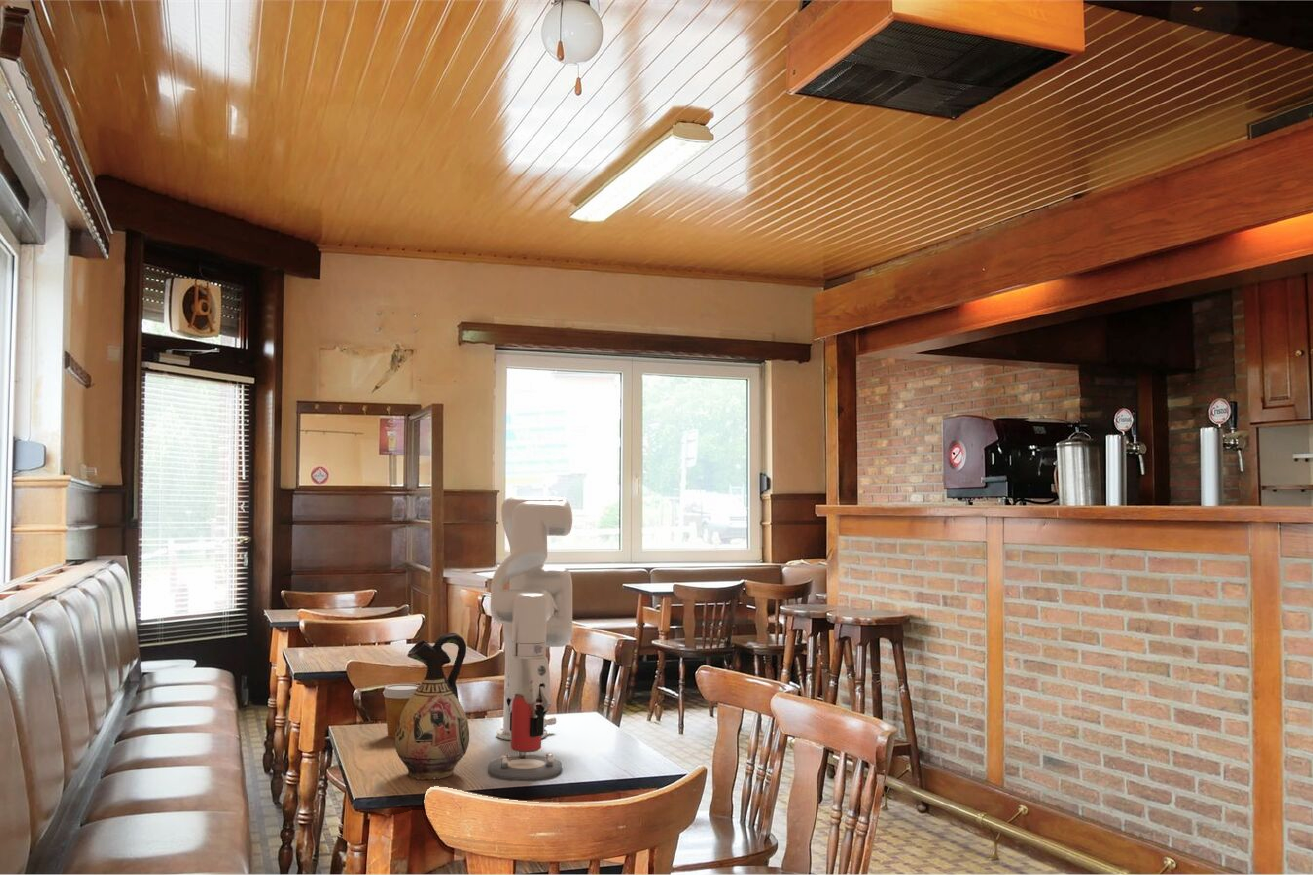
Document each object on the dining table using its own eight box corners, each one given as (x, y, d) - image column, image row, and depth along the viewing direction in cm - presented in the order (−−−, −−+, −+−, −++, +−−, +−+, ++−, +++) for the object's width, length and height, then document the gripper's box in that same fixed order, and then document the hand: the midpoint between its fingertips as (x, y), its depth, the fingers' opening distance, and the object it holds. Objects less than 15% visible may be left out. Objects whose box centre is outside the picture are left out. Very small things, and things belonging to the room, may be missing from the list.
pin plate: (532, 758, 234) (532, 751, 235) (577, 772, 223) (577, 764, 223) (473, 769, 223) (473, 762, 223) (517, 784, 212) (517, 776, 212)
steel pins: (522, 756, 230) (523, 745, 230) (554, 766, 222) (554, 754, 222) (485, 763, 223) (486, 751, 223) (517, 773, 215) (517, 761, 215)
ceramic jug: (400, 787, 208) (406, 637, 210) (388, 769, 222) (393, 629, 225) (483, 780, 215) (487, 635, 217) (466, 763, 229) (470, 627, 231)
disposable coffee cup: (428, 735, 257) (430, 686, 258) (400, 741, 249) (402, 691, 250) (401, 730, 262) (403, 682, 263) (373, 736, 254) (374, 687, 255)
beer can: (546, 747, 226) (547, 692, 226) (532, 754, 219) (534, 697, 220) (519, 745, 228) (520, 690, 229) (505, 751, 221) (506, 694, 222)
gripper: (567, 652, 222) (564, 737, 220) (518, 644, 234) (516, 724, 233) (539, 655, 216) (537, 742, 215) (491, 646, 229) (488, 728, 227)
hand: (526, 732), depth 224 cm, fingers closed on beer can, 6 cm apart
